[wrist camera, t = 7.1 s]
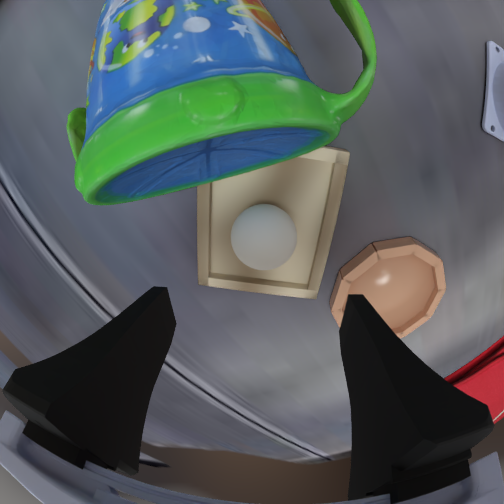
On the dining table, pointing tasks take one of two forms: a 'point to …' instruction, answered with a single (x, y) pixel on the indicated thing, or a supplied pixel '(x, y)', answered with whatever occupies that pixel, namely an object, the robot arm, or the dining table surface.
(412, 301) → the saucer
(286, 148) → the snack cup
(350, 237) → the dining table surface
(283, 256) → the ball
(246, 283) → the tray
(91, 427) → the robot arm
